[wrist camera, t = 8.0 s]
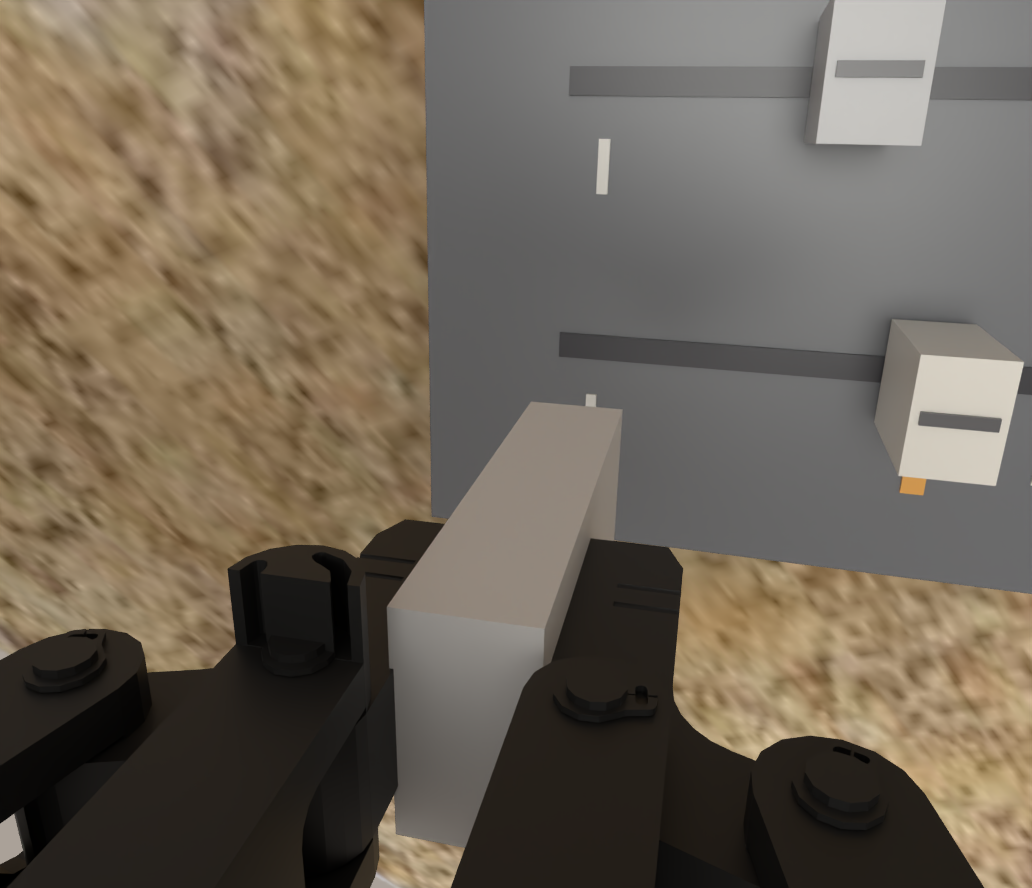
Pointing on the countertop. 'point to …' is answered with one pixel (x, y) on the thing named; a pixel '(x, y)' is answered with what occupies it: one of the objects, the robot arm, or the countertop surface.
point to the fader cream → (946, 401)
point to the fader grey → (873, 71)
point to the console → (724, 269)
